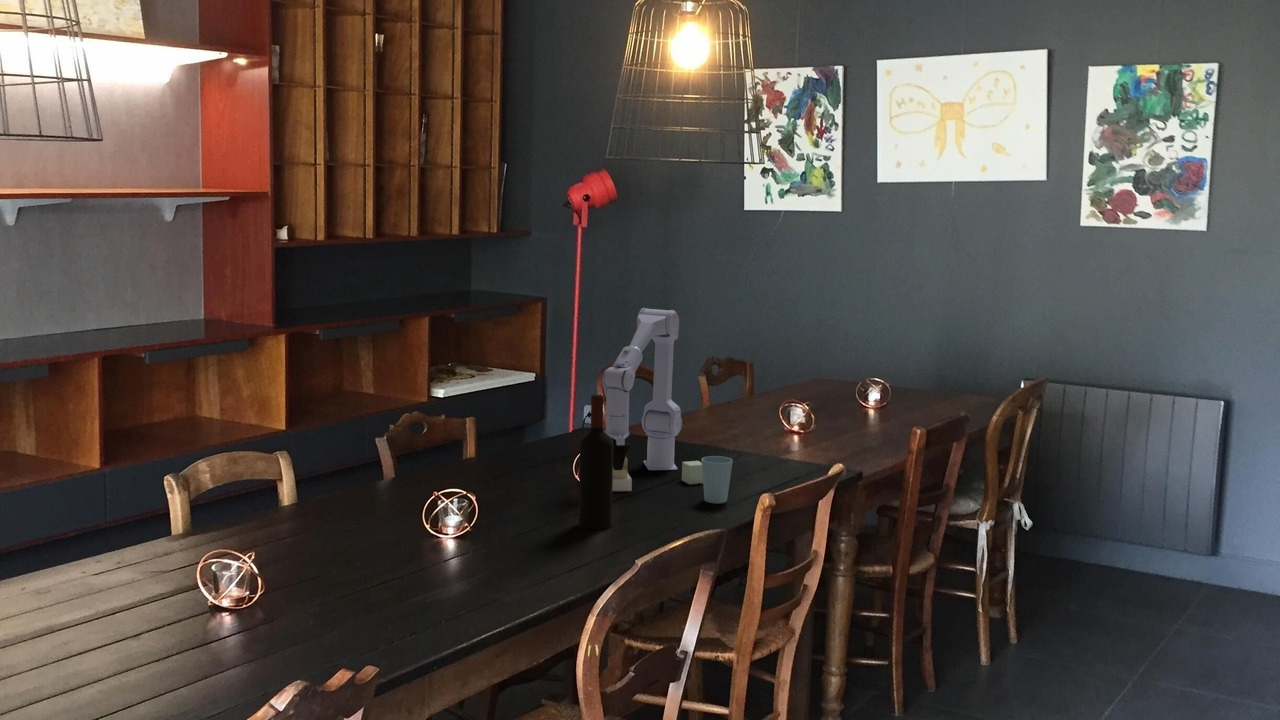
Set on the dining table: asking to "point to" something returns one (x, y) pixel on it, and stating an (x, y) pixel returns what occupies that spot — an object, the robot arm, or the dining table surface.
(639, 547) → the dining table surface
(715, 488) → the cup
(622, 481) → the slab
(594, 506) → the wine bottle
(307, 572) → the dining table surface
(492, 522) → the dining table surface
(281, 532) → the dining table surface
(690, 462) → the sage block
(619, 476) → the oak block
